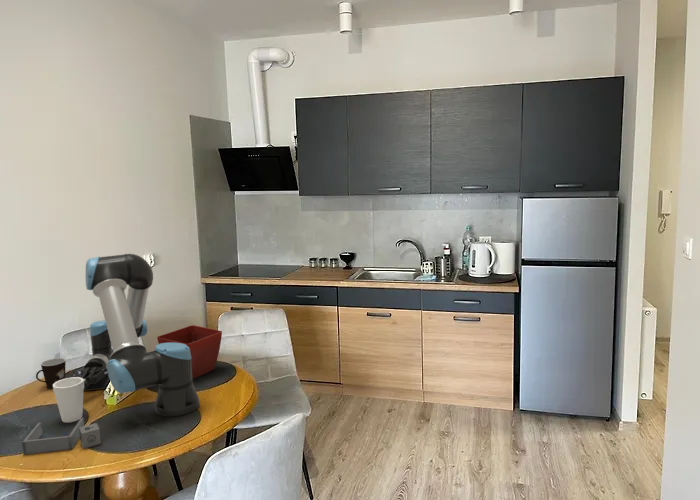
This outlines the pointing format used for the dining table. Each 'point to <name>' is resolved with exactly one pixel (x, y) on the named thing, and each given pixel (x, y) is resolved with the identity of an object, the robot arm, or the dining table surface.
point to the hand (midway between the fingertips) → (78, 389)
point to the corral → (50, 440)
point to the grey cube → (90, 435)
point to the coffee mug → (52, 371)
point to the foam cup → (69, 398)
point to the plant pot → (197, 346)
